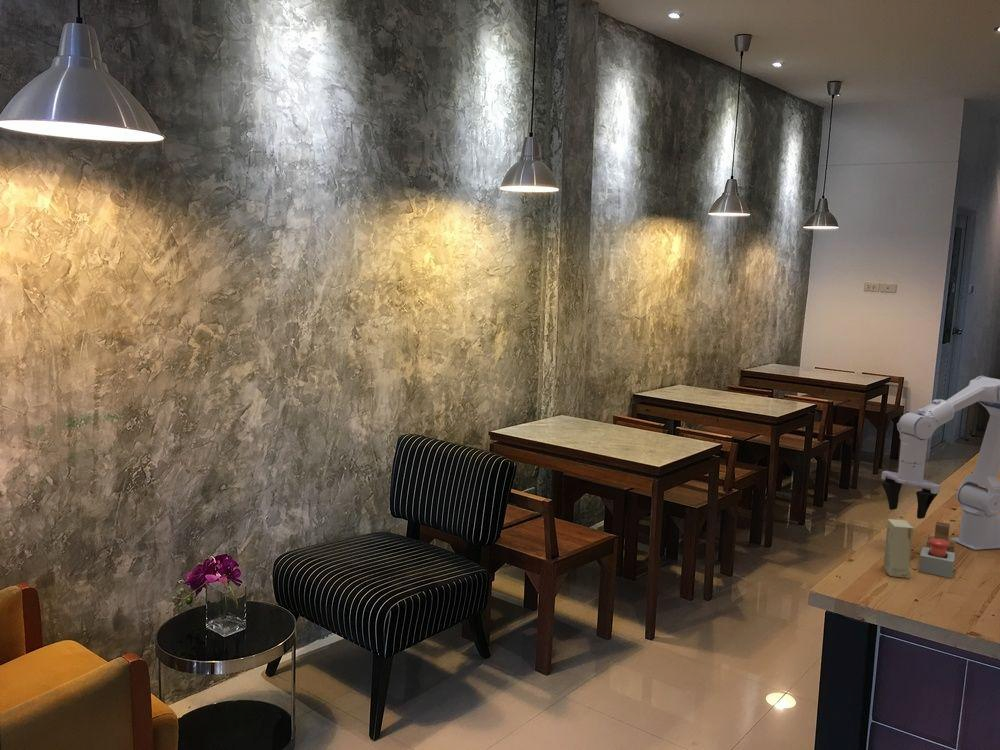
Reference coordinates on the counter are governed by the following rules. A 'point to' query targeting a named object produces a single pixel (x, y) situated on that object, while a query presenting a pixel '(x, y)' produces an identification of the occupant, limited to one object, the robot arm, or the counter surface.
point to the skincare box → (898, 548)
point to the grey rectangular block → (936, 563)
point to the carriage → (942, 535)
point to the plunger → (938, 547)
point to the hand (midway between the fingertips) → (906, 513)
